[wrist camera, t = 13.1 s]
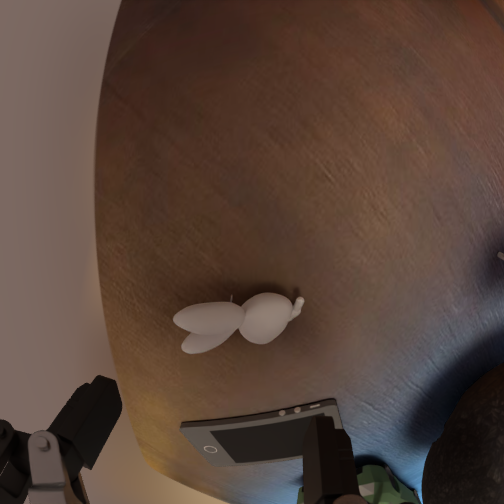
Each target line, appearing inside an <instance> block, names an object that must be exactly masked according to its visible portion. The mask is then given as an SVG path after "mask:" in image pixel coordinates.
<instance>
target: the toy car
mask: <svg viewBox="0 0 504 504" xmlns="http://www.w3.org/2000/svg"><path fill="white" fill-rule="evenodd" d="M356 473H357V479H358V485H359V491H360V493H361V495H362V497H363V498H364V499H365V500H366V501H368V502H370V503H372V504H400V503H402V502H413V503H415V504H421V502H420V499H419V496H418V494H417V492H416V490H415V489H413V490H409V489H408V488H407V487H406V486H404V485H403V484H402V483H401V482H399V481H398V480H397V478H396V477H395V476H393V474H392V472H391V470H390V468H389V467H388V466H387V465H386V464H385V465H383V466H378V465H366V466H362V467H359V468H357V469H356ZM297 504H304V486H302V487H300V488H299V492H298V500H297Z"/></svg>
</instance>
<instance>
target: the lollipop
mask: <svg viewBox="0 0 504 504" xmlns="http://www.w3.org/2000/svg"><path fill="white" fill-rule="evenodd" d="M497 256H498V257H499V258H501V259H502V260H504V254H503V253H501V252H498V255H497Z"/></svg>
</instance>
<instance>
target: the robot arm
mask: <svg viewBox="0 0 504 504" xmlns="http://www.w3.org/2000/svg"><path fill="white" fill-rule="evenodd" d="M121 411H122V401H121V397H120V394H119V390H118V387H117V383H116V381H115V380H113V379H110V378H107V377H104V376H101V375H98V376H96V378H95V379H94V380H93V382H92V383H91V384H89V383H85V384H83V385H82V386H80V387H79V388H77V389H76V391H75V392H74V393H73V395H72V396H71V399H69V400H68V401H67V403H66V405H65V406H64V407H63V408H62V410H61V411H60V413H59V414H58V415H57V417H56V418H55V420H54V421H53V422H52V424H51V425H50V427H49V428H48V429H47V430H46V431H44V430H41V431H37V432H35V433H33V434H29V433H25V432H21V431H17V430H14V428H13V427H12V425H11V424H10V423H9V422H7V421H6V420H0V474H1V473H2V474H1V476H0V504H23V503H24V501H25V499H26V497H27V495H29V501H30V504H90V503H89V500H88V497H87V494H86V490H85V487H84V484H83V480H82V476H81V473H80V470H81V468H82V467H83V466H84V467H85V468H88V469H90V470H92V468H93V466H94V464H95V462H96V460H97V458H98V456H99V454H100V452H101V450H102V448H103V446H104V445H105V443H106V441H107V439H108V437H109V435H110V433H111V431H112V429H113V428H114V426H115V424H116V422H117V420H118V418H119V417H120V414H121ZM302 453H303V483H304V504H372V503H370V502H368V501H366V500H365V499H364V498H363V497H362V495H361V493H360V491H359V485H358V479H357V473H356V467H355V461H354V456H353V451H352V445H351V439H350V437H349V436H348V434H347V433H346V431H345V430H344V429H335V425H334V419H333V417H332V416H313V417H312V419H311V421H310V424H309V426H308V428H307V431H306V433H305V435H304V439H303V445H302ZM7 462H8V463H7ZM6 464H7V465H6ZM5 466H6V467H5ZM4 467H5V468H4ZM3 469H4V470H3ZM2 471H3V472H2ZM400 504H415V503H413V502H402V503H400Z"/></svg>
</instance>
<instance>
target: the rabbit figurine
mask: <svg viewBox="0 0 504 504" xmlns="http://www.w3.org/2000/svg"><path fill="white" fill-rule="evenodd" d="M232 295H233V294H232ZM232 295H231V300H230V302H208V303H200V304H194V305H191V306H188V307H185V308H184V309H182V310H181V311H179V312H178V313H176V314H175V315H174V318H173V321H174V323H175V324H176V325H177V326H179V327H180V328H182V329H185V330H187V331H189V332H192V333H191V334H189V335H188V336H187V338H186V339H185V340H184V342H183V343H182V345H181V348H182V350H183V351H184V352H186V353H188V354H195V353H203V352H205V351H209V350H211V349H213V348H214V347H217V346H218V345H220V344H222V343H223V342H224V341H225V340H227V339H228V338H229V337H230V335H232V334H233V333H234V331H235V330H236V329H239V331H240V333H241V334H242V336H243V337H244V338H245V339H247V340H248V341H250V342H252V343H256V344H266V343H269V342H271V341H272V340H273V339H275V338H276V337H277V336H278V335H280V333H281V332H282V331H283V330H284V329H285V327H286V326H287V323H288V321H292V320H293V318H294V317H297V316H298V315H299V314H300V313H301V308H302V306H303V304H304V298H303V297H298V298H297V299H296V301H295V303H294V305H293V306H292V303H291V302H290V300H289V299H288V298H286V297H285V296H283V295H280V294H276V293H269V292H268V293H261V294H258V295H255V296H253V297H252V298H250V299H249V300H247V301H246V302H245V303H244V304H243V305H242V306H241V307H240V306H238V305H237V304H234V303H232Z"/></svg>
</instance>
